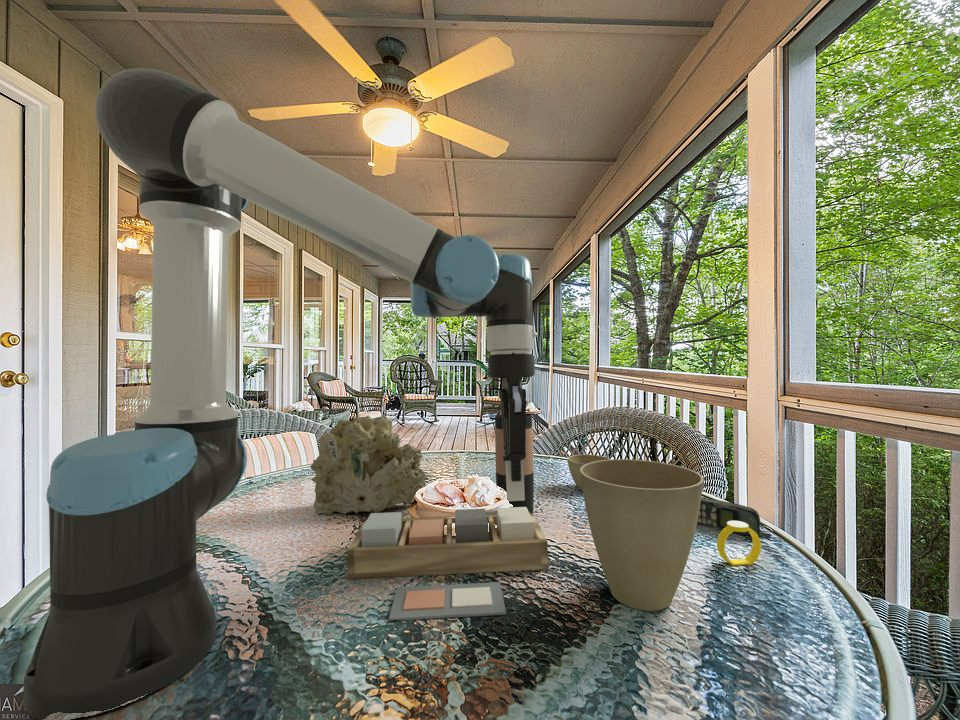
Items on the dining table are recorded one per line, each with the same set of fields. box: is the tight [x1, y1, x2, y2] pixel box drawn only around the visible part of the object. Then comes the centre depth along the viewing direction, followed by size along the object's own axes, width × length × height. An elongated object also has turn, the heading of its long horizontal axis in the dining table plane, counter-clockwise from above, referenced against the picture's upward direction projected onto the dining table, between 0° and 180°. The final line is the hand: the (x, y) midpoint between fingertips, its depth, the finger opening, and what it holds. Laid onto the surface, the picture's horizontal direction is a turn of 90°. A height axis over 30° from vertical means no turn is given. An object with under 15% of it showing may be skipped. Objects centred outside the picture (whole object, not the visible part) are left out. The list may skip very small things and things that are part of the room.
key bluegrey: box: [361, 511, 402, 547], centre depth 66 cm, size 7×5×3 cm
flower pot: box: [566, 454, 611, 491], centre depth 100 cm, size 10×10×7 cm
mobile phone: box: [697, 497, 772, 539], centre depth 75 cm, size 5×3×15 cm
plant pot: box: [580, 458, 705, 612], centre depth 54 cm, size 15×15×16 cm
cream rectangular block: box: [496, 507, 534, 541], centre depth 67 cm, size 7×5×3 cm
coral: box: [309, 415, 429, 515], centre depth 89 cm, size 25×10×20 cm, turn 87°
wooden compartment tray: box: [346, 512, 549, 580], centre depth 67 cm, size 12×29×4 cm, turn 93°
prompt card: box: [388, 581, 507, 622], centre depth 54 cm, size 7×14×1 cm, turn 93°
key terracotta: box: [409, 519, 444, 545], centre depth 66 cm, size 7×5×3 cm
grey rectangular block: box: [454, 508, 489, 543], centre depth 67 cm, size 7×5×3 cm
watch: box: [716, 521, 762, 567], centre depth 62 cm, size 6×3×6 cm, turn 94°
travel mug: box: [494, 413, 535, 514], centre depth 84 cm, size 8×8×20 cm
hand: (515, 499), depth 67 cm, fingers closed
